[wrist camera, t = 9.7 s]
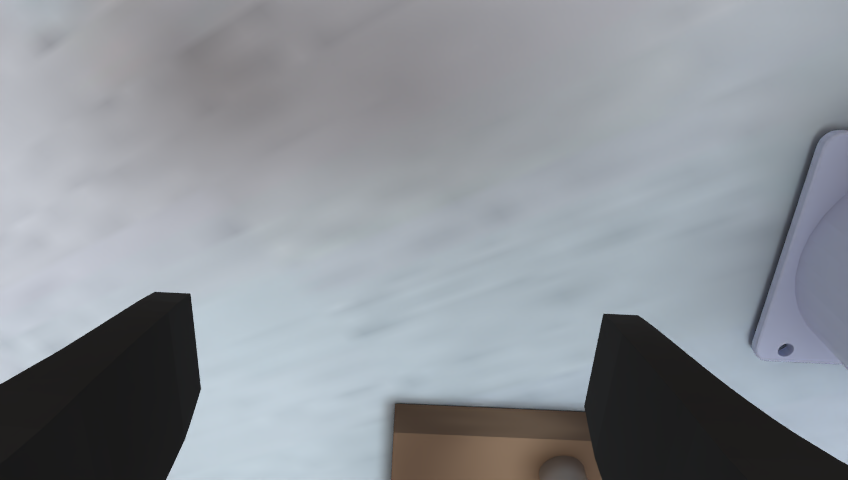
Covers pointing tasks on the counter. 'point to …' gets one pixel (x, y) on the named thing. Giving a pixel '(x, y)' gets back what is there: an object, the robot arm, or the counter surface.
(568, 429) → the gear board
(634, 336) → the robot arm
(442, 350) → the counter surface
